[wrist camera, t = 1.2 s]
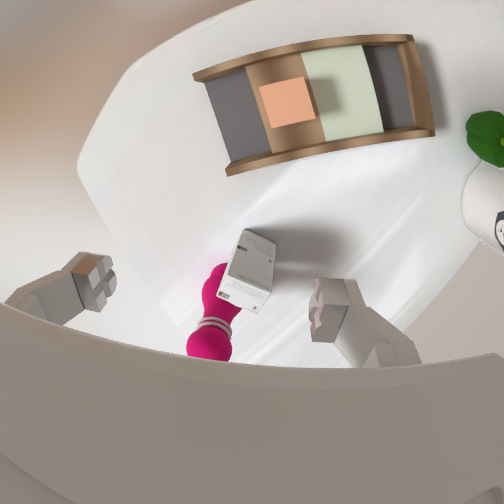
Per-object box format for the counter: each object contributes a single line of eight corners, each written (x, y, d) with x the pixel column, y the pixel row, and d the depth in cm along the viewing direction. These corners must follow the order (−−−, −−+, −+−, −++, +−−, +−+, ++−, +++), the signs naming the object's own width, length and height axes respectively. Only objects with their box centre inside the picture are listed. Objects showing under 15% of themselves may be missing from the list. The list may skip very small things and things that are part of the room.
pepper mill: (202, 264, 47) (163, 356, 29) (242, 257, 45) (218, 354, 28) (216, 296, 50) (189, 388, 33) (254, 290, 48) (239, 388, 31)
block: (300, 79, 28) (303, 76, 24) (311, 116, 30) (315, 118, 27) (261, 89, 29) (258, 87, 25) (272, 125, 31) (271, 128, 28)
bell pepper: (451, 140, 30) (490, 156, 22) (466, 98, 26) (506, 105, 18) (482, 165, 31) (518, 185, 23) (496, 126, 27) (534, 139, 18)
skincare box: (277, 243, 43) (275, 292, 33) (265, 264, 45) (259, 315, 35) (241, 227, 42) (227, 272, 32) (230, 249, 44) (215, 298, 34)
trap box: (397, 40, 24) (412, 34, 20) (418, 131, 31) (435, 136, 27) (203, 77, 31) (192, 73, 27) (233, 167, 37) (227, 176, 33)
